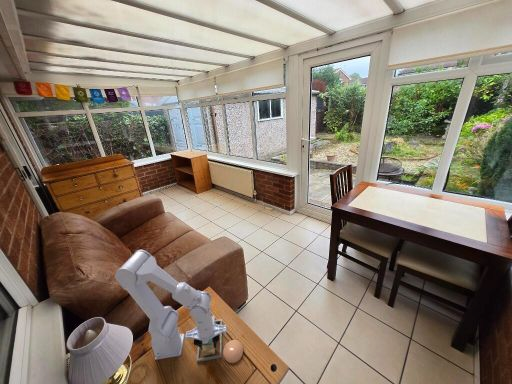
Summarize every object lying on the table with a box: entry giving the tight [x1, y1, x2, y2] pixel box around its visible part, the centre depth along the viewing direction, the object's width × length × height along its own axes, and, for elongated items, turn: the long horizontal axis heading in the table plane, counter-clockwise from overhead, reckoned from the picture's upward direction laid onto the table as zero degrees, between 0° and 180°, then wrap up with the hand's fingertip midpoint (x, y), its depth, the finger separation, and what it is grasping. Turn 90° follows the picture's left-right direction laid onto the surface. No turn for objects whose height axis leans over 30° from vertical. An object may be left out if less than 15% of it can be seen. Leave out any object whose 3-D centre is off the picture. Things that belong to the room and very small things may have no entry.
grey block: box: [212, 315, 217, 324], centre depth 85 cm, size 4×4×6 cm
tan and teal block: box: [202, 338, 216, 357], centre depth 78 cm, size 4×4×6 cm
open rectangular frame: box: [196, 318, 223, 363], centre depth 82 cm, size 9×14×1 cm, turn 8°
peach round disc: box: [222, 339, 244, 364], centre depth 78 cm, size 8×8×1 cm
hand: (209, 346), depth 78 cm, fingers closed on tan and teal block, 4 cm apart
